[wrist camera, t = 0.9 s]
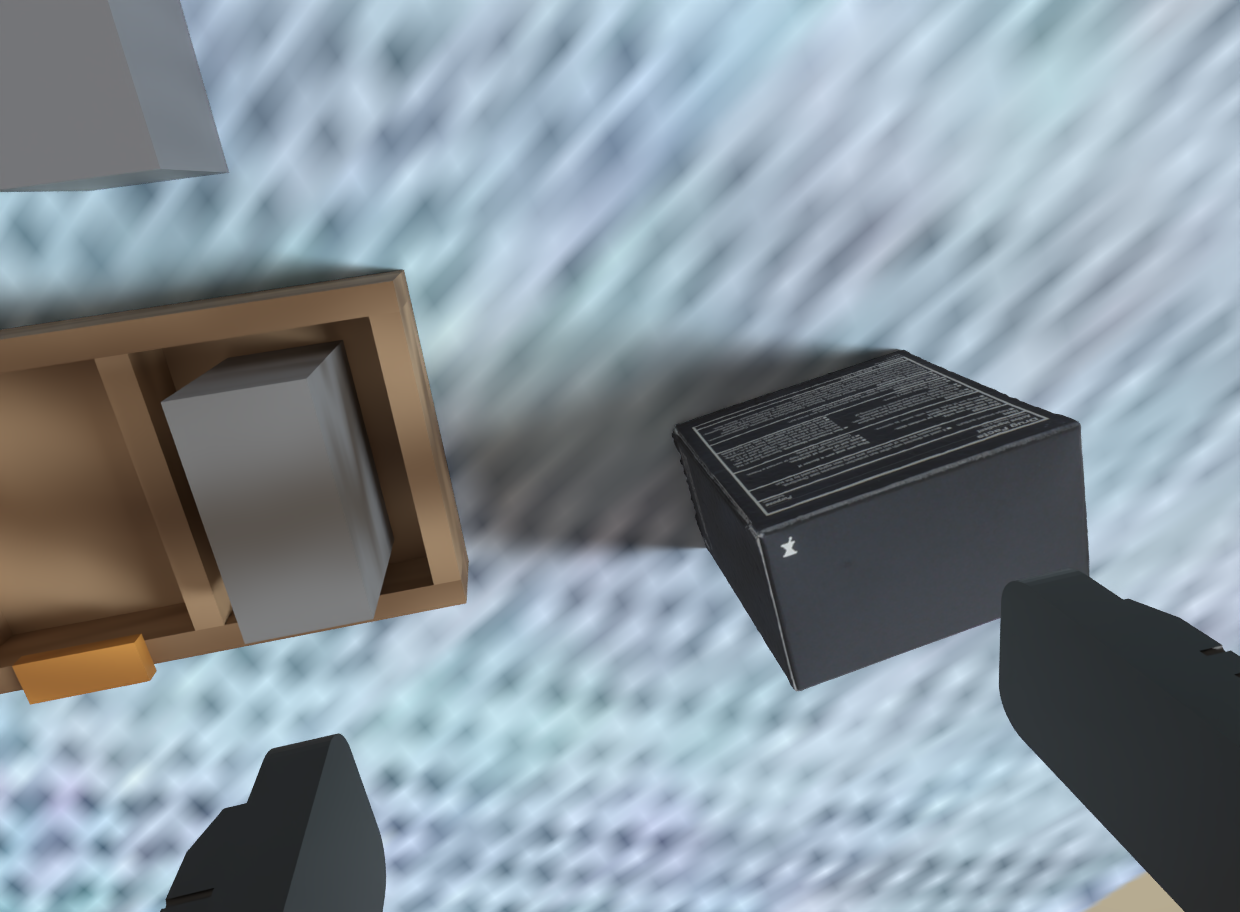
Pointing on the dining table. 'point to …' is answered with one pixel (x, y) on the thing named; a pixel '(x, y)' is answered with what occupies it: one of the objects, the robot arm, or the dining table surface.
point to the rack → (216, 481)
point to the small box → (882, 508)
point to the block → (101, 96)
